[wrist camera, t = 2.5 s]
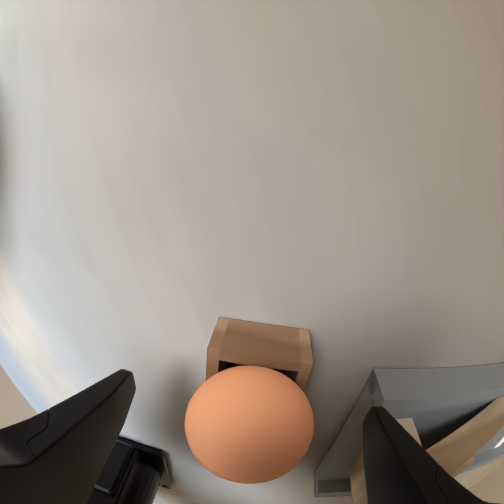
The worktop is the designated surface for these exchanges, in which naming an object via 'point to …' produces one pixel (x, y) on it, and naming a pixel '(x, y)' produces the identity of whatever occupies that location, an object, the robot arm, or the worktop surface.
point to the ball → (249, 424)
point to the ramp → (444, 446)
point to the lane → (415, 414)
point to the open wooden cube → (260, 348)
